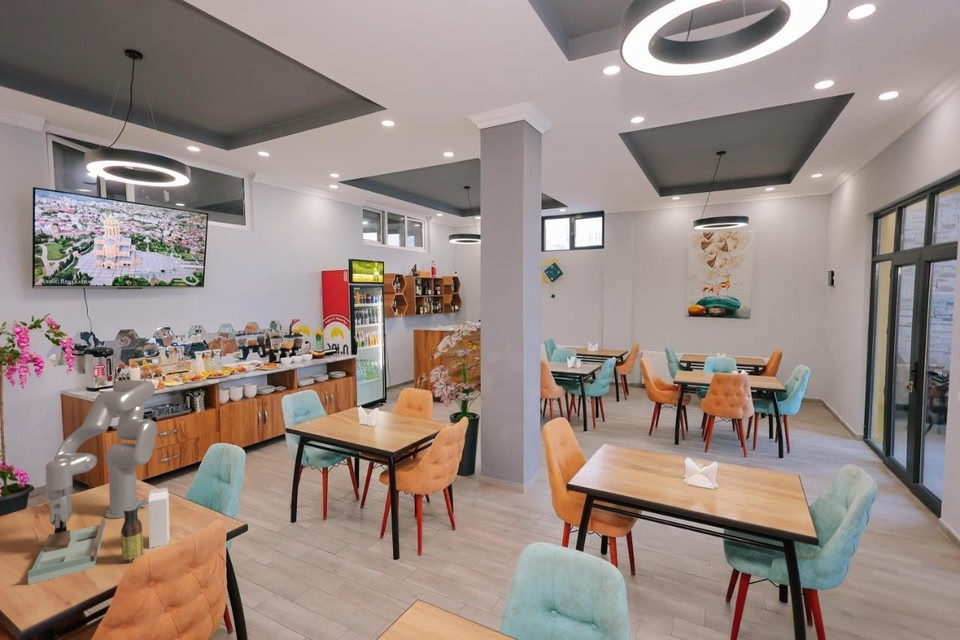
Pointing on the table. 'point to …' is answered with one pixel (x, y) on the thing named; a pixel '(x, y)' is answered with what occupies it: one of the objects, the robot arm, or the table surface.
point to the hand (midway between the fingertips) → (60, 537)
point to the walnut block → (57, 541)
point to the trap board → (69, 555)
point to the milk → (158, 517)
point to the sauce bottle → (131, 535)
